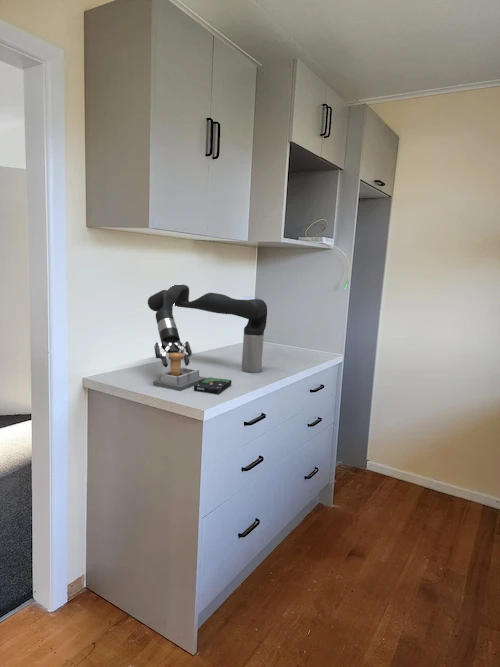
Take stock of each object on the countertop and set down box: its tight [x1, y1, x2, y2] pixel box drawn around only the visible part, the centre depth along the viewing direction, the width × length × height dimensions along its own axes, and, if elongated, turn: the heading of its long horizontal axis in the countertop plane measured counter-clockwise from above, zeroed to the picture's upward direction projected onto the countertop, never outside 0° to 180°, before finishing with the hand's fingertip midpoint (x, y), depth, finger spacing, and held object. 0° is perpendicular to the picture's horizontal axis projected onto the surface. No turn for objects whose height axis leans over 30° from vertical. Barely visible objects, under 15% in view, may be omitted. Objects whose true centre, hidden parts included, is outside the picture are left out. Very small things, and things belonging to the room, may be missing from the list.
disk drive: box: [193, 376, 232, 395], centre depth 174 cm, size 10×3×15 cm
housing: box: [152, 366, 207, 392], centre depth 178 cm, size 18×13×4 cm
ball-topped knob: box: [168, 351, 184, 377], centre depth 175 cm, size 6×6×11 cm
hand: (176, 365), depth 173 cm, fingers open, 8 cm apart
